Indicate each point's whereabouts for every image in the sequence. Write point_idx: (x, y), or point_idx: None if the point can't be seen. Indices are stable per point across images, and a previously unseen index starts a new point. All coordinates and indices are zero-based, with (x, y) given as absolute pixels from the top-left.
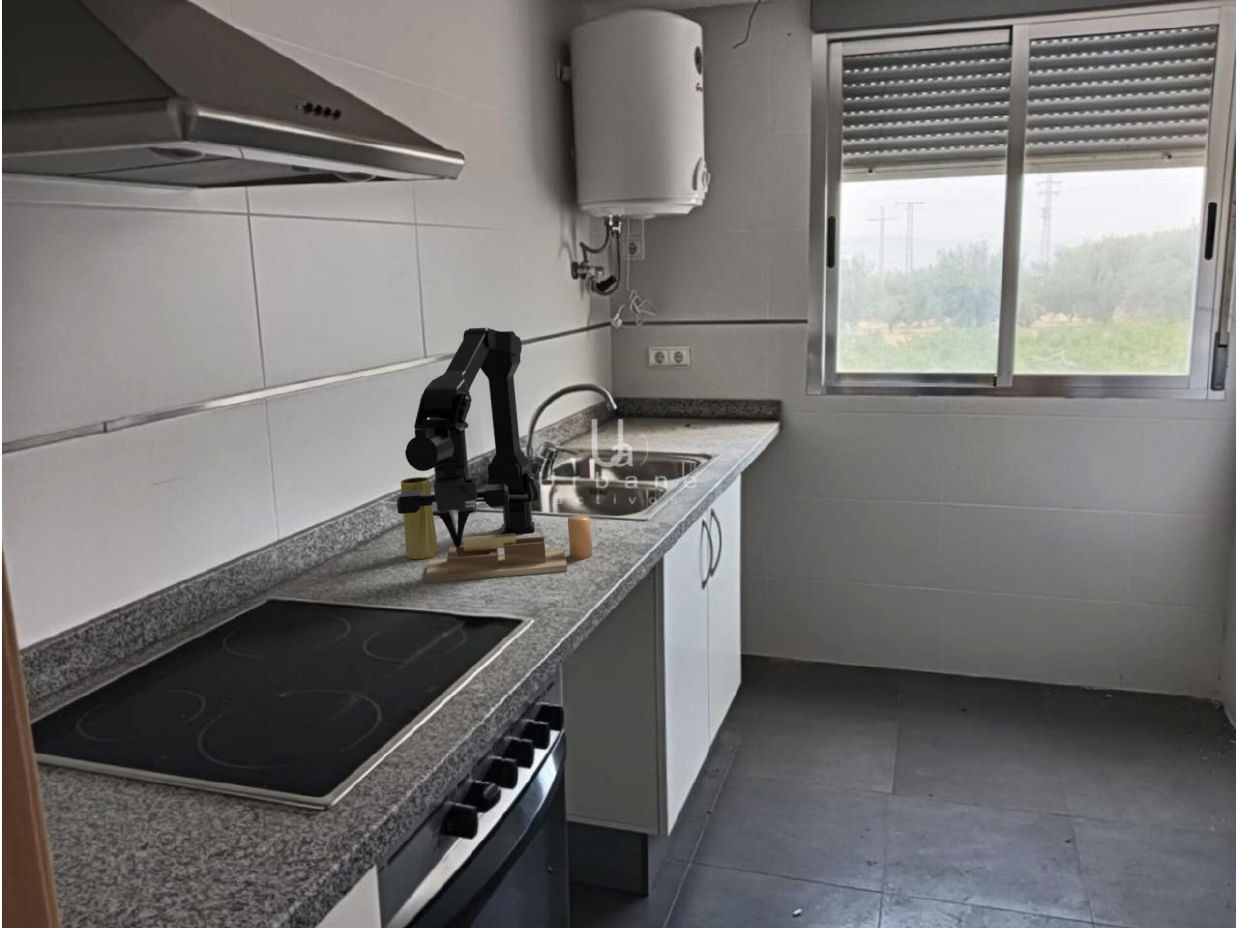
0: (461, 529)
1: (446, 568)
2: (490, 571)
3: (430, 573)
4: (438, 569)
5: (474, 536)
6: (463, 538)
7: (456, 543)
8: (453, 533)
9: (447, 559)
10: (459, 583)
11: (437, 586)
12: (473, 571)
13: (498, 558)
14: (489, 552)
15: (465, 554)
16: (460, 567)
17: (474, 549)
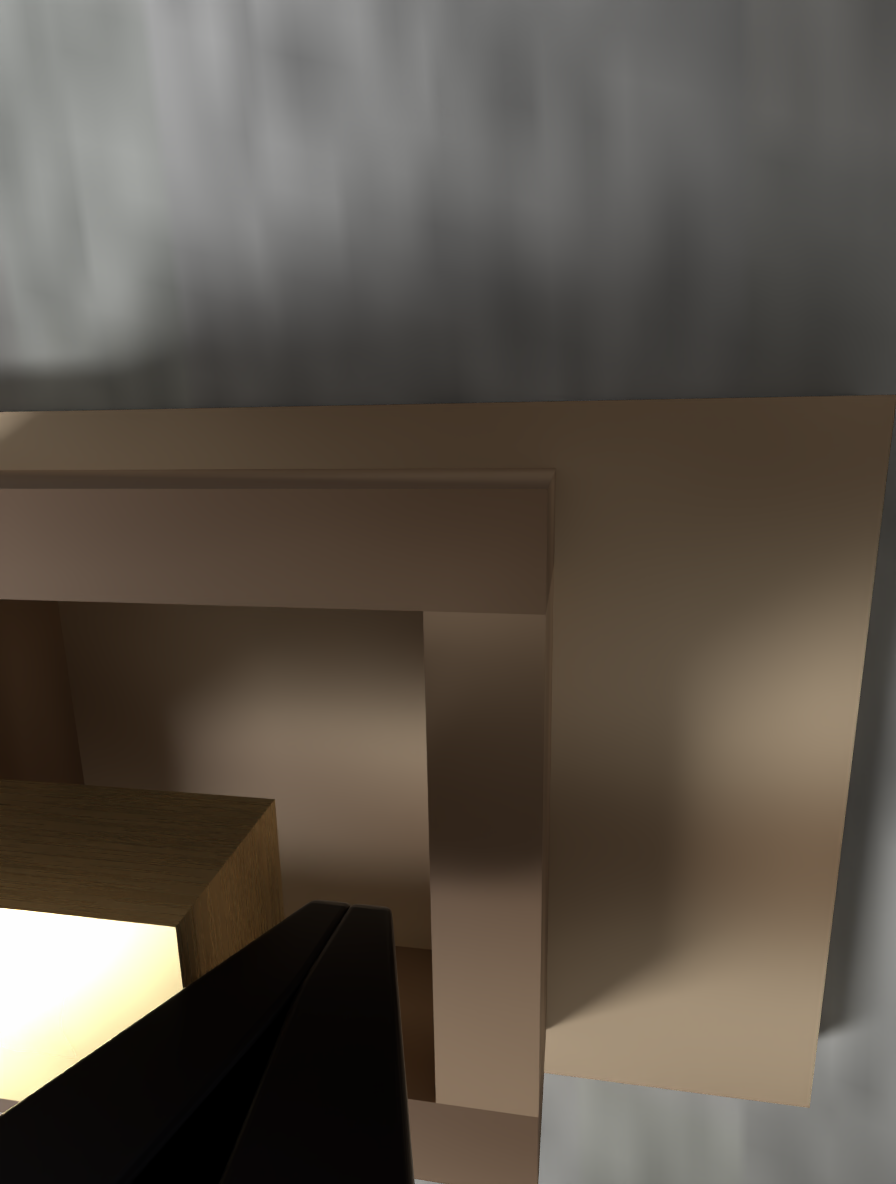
0: (3, 1165)
1: (587, 712)
2: (32, 418)
3: (808, 553)
4: (693, 699)
5: (2, 1091)
6: None
7: (347, 941)
8: (300, 1113)
9: (537, 499)
10: (413, 259)
11: (698, 188)
12: (231, 469)
13: None
14: None
15: None
16: (367, 473)
17: (107, 798)
